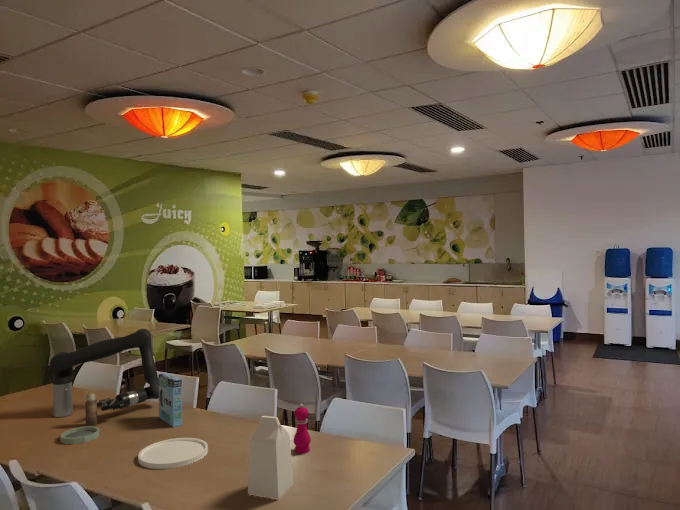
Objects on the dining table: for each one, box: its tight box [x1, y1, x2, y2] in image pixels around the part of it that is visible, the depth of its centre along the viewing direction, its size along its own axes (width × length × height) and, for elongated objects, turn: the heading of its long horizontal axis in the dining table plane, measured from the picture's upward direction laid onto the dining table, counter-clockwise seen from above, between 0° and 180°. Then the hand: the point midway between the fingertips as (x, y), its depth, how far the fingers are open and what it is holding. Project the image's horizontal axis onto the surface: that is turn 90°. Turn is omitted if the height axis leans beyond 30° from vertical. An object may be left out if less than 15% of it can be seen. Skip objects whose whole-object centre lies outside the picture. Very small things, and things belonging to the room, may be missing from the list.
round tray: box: [59, 425, 100, 445], centre depth 238 cm, size 16×16×2 cm
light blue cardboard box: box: [157, 372, 183, 428], centre depth 257 cm, size 20×5×23 cm, turn 39°
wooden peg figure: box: [84, 392, 98, 427], centre depth 255 cm, size 5×5×16 cm
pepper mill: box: [293, 403, 312, 455], centre depth 215 cm, size 7×7×20 cm
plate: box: [137, 437, 209, 470], centre depth 214 cm, size 28×28×2 cm
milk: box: [247, 415, 294, 500], centre depth 180 cm, size 12×12×26 cm
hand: (97, 407), depth 258 cm, fingers open, 8 cm apart
